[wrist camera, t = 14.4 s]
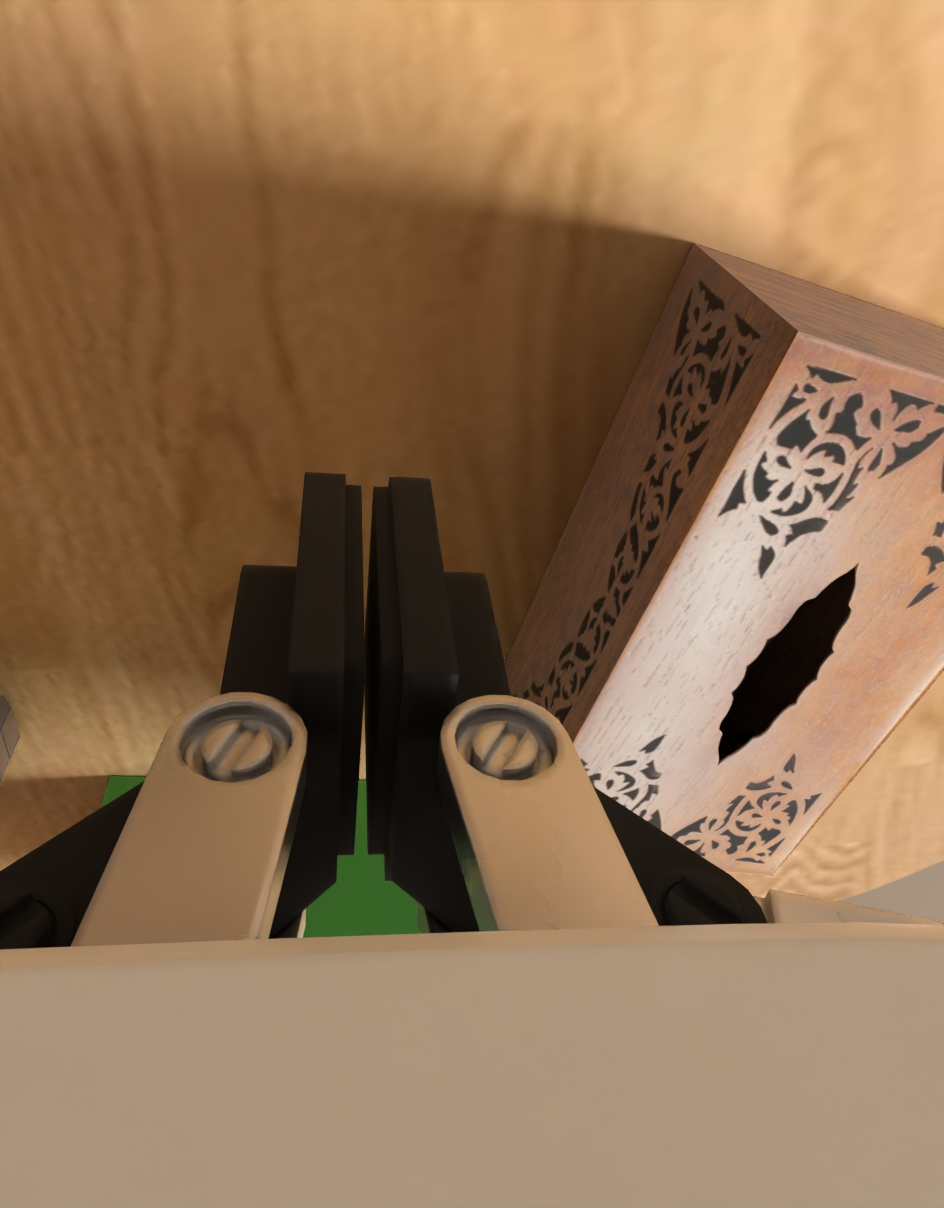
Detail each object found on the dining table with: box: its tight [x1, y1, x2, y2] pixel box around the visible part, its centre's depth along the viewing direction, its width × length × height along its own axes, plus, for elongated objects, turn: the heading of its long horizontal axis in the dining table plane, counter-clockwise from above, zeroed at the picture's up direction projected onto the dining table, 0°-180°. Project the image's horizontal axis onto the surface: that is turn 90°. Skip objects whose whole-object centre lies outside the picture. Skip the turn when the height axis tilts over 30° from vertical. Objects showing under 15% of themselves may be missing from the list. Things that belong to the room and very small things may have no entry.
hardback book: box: [101, 776, 420, 938], centre depth 43 cm, size 18×7×24 cm, turn 81°
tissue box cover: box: [504, 243, 944, 875], centre depth 40 cm, size 26×14×10 cm, turn 162°
